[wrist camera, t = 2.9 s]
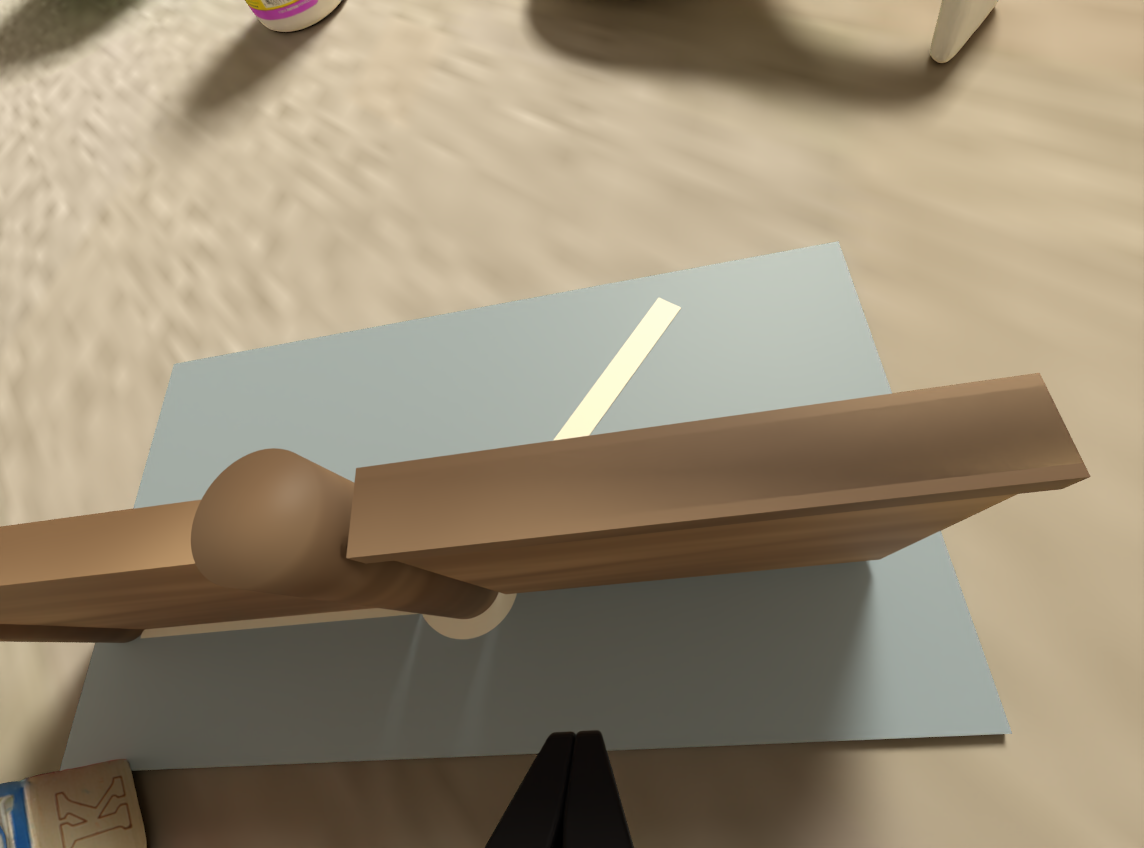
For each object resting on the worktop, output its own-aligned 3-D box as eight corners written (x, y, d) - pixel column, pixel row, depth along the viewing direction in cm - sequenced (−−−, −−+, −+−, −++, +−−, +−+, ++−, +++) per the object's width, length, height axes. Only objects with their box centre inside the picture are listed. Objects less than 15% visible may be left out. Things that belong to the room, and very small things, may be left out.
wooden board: (881, 566, 15) (1090, 476, 7) (505, 601, 16) (346, 558, 9) (865, 511, 15) (1040, 372, 8) (505, 549, 17) (356, 467, 9)
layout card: (1005, 731, 13) (1013, 734, 13) (67, 772, 18) (57, 773, 18) (836, 246, 20) (838, 240, 20) (179, 367, 24) (173, 363, 24)
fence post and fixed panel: (502, 615, 17) (307, 581, 8) (99, 650, 19) (-372, 651, 11) (501, 541, 18) (326, 439, 9) (118, 583, 20) (-301, 533, 12)
